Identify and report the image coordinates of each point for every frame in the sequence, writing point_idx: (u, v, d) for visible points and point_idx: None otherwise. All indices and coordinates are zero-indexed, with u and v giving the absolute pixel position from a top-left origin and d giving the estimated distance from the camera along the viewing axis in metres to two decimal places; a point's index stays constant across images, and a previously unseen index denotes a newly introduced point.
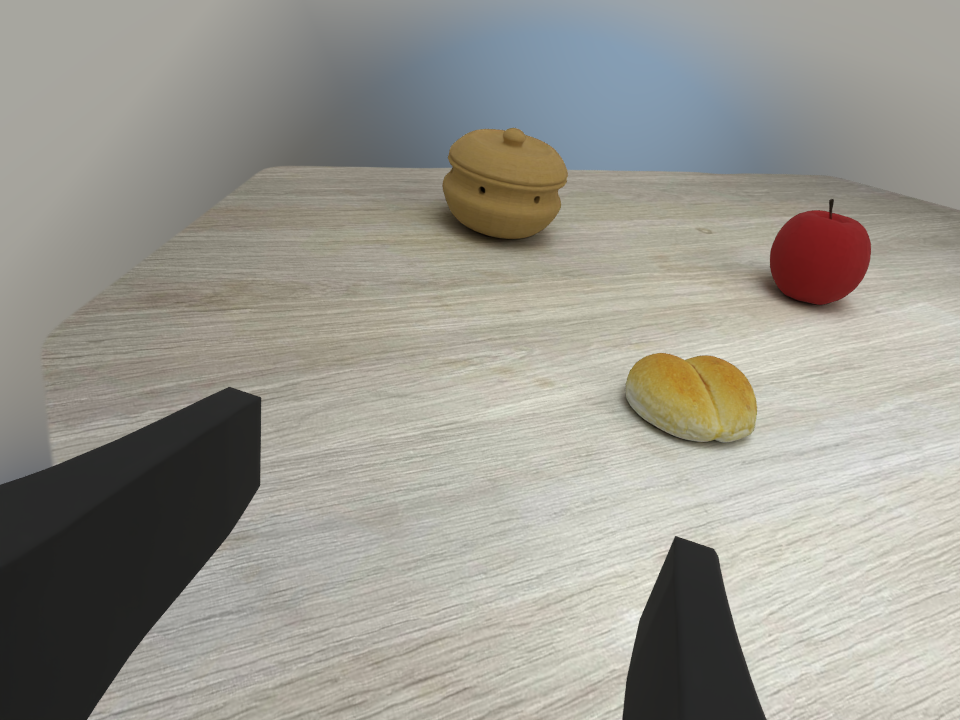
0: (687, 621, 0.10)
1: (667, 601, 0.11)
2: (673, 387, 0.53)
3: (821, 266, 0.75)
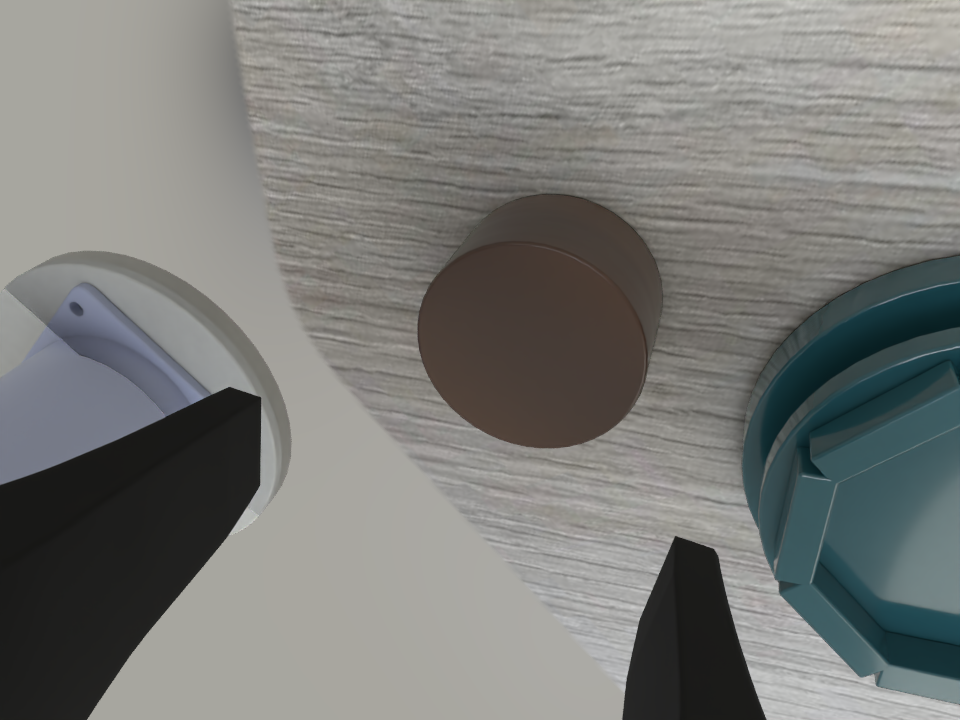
0: (687, 621, 0.10)
1: (667, 601, 0.11)
2: None
3: None
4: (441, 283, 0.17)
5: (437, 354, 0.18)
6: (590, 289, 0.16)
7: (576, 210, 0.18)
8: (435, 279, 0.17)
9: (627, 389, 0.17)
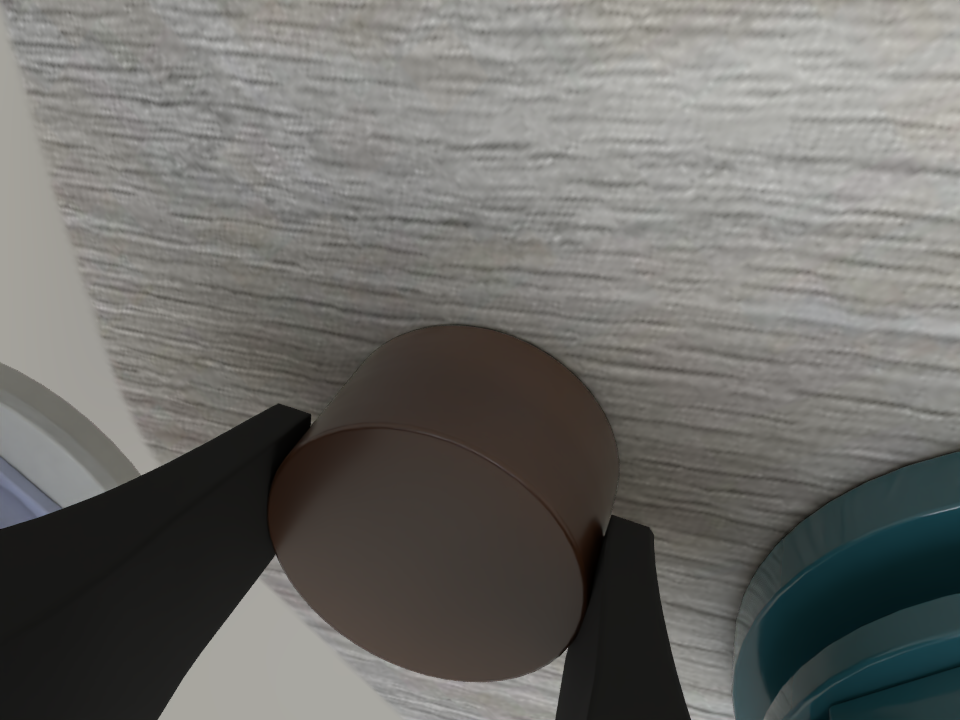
0: (612, 595, 0.11)
1: (598, 577, 0.11)
2: None
3: None
4: (291, 470, 0.12)
5: (297, 555, 0.13)
6: (501, 495, 0.11)
7: (491, 356, 0.13)
8: (283, 463, 0.12)
9: (561, 624, 0.12)
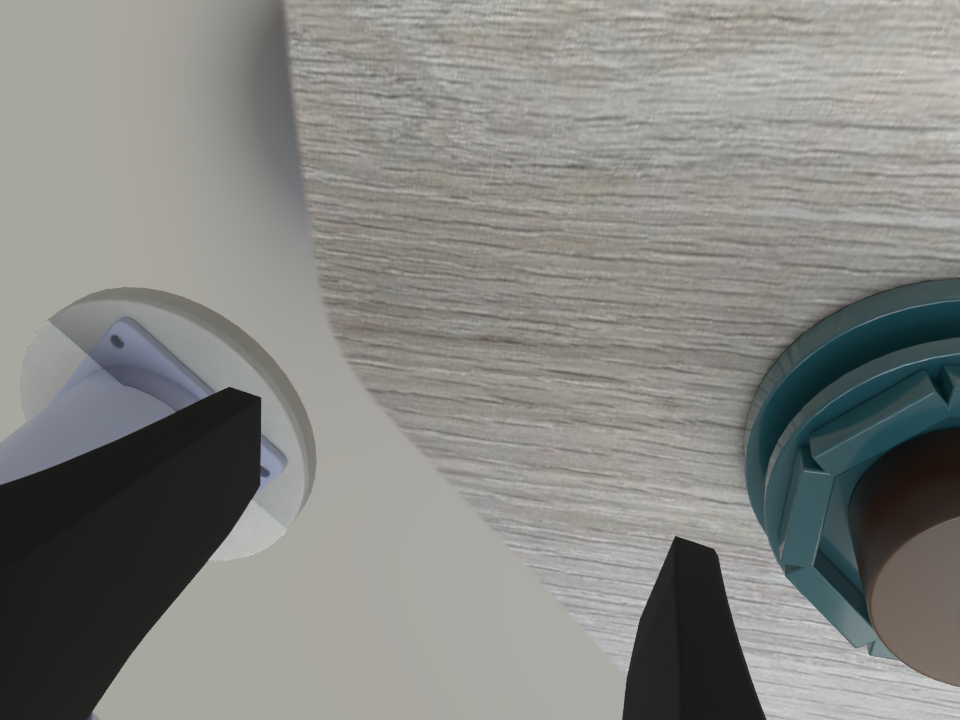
0: (687, 621, 0.10)
1: (667, 601, 0.11)
2: None
3: None
4: (921, 540, 0.17)
5: (890, 602, 0.18)
6: None
7: None
8: (914, 535, 0.17)
9: None
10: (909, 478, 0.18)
